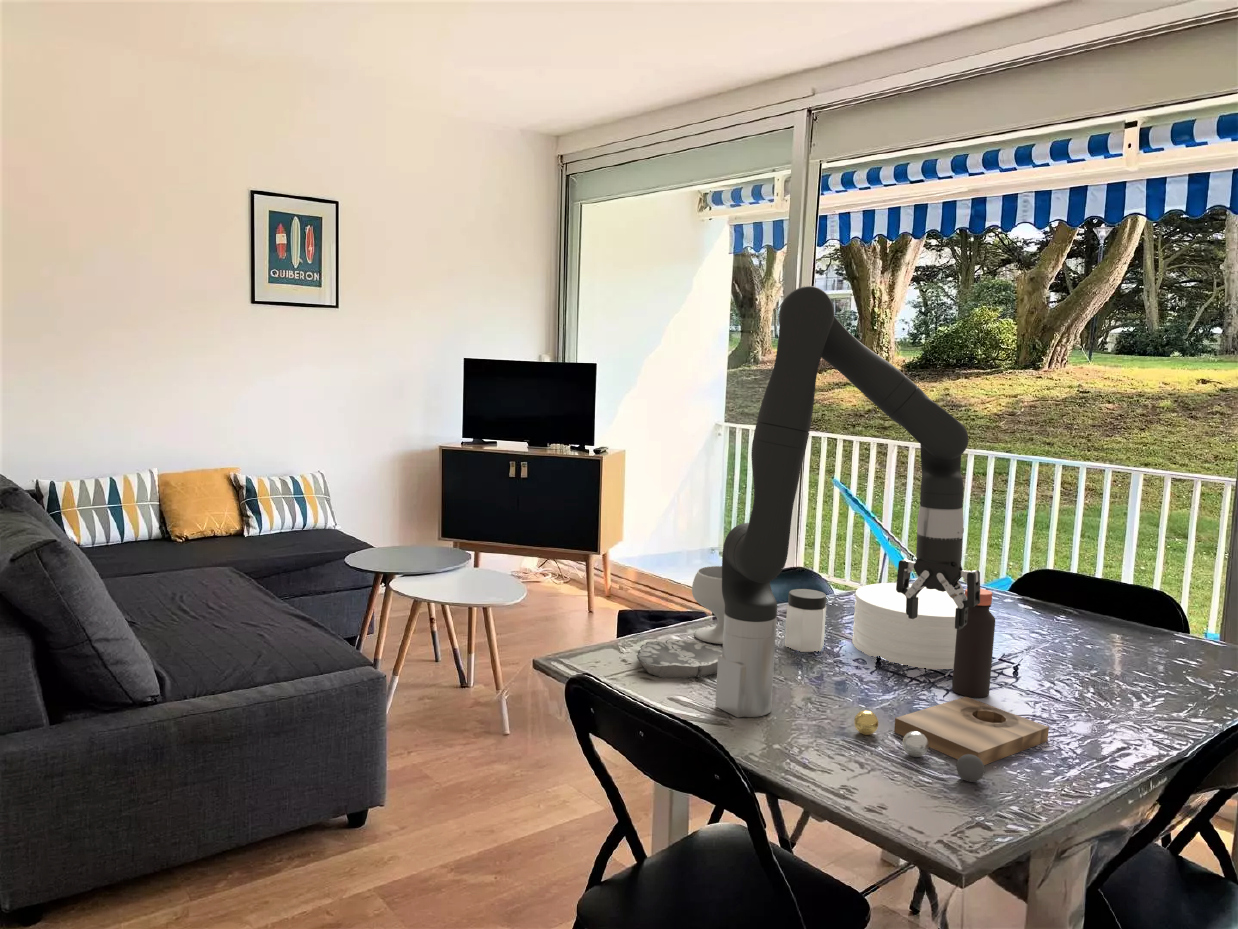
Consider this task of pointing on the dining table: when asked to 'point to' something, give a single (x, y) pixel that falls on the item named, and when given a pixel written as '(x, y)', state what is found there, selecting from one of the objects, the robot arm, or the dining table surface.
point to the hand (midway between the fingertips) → (935, 623)
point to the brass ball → (866, 722)
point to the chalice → (710, 601)
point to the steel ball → (915, 744)
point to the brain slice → (679, 658)
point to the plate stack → (905, 626)
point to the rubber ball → (970, 768)
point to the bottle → (975, 650)
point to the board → (973, 729)
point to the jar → (805, 620)
